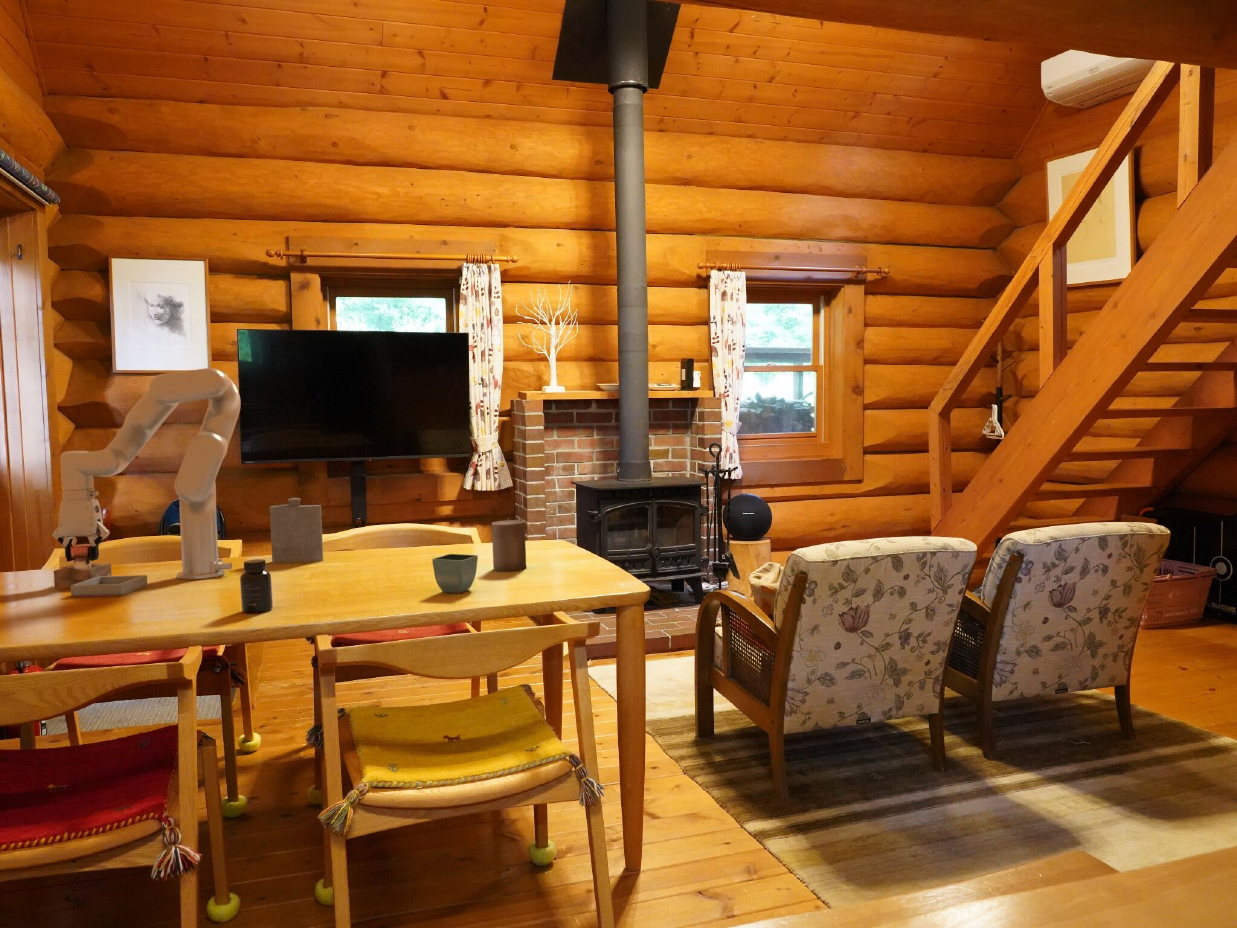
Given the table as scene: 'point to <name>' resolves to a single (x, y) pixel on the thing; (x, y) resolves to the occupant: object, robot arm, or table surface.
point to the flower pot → (455, 572)
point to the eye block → (79, 575)
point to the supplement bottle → (256, 587)
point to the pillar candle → (509, 545)
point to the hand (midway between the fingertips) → (82, 559)
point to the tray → (108, 586)
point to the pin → (80, 556)
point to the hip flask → (296, 533)
